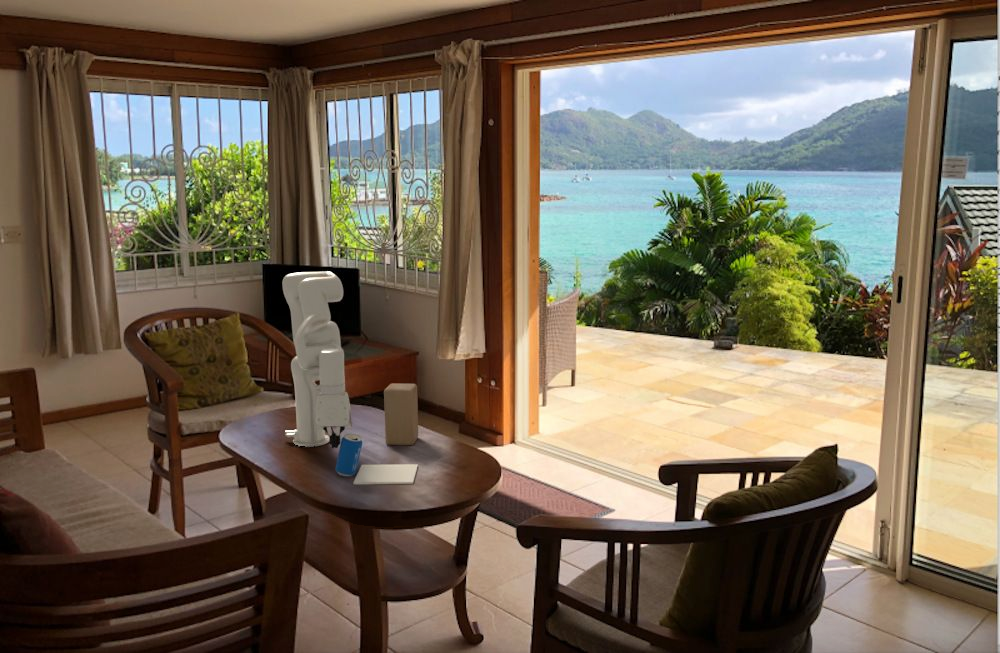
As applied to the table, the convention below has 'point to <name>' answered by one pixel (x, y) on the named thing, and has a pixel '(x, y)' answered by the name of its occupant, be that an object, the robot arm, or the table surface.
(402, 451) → the table surface
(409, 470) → the mat
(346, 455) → the beverage can
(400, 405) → the wooden block
